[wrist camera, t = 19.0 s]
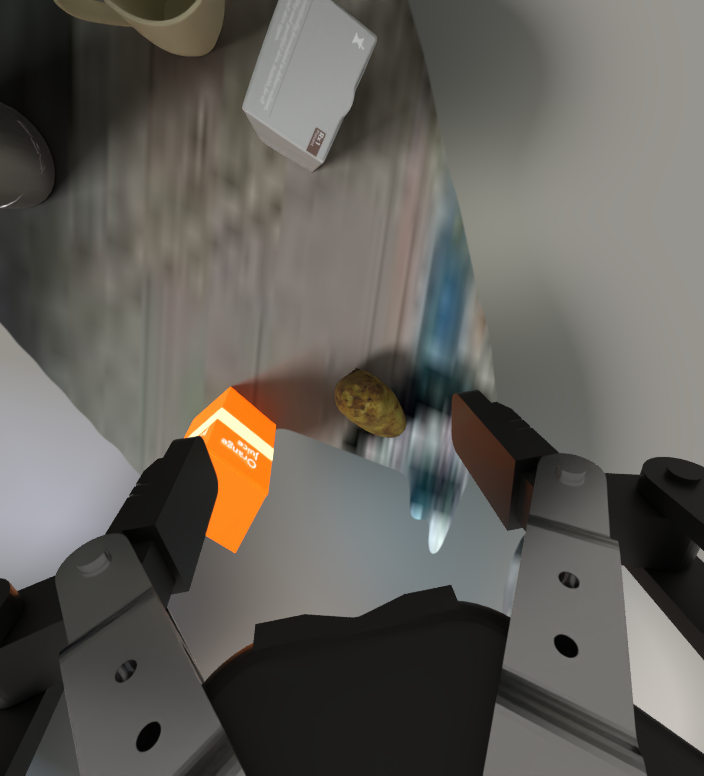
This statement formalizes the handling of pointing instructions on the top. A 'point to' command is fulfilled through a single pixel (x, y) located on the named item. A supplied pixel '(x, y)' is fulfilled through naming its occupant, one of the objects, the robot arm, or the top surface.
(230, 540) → the orange juice
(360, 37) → the skincare box
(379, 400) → the potato
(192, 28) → the mug
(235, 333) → the top surface
